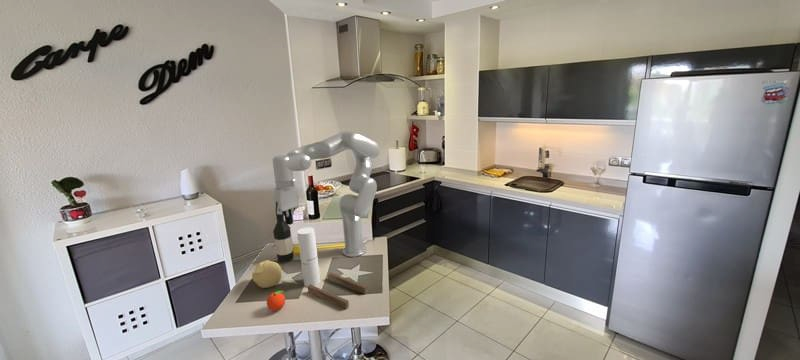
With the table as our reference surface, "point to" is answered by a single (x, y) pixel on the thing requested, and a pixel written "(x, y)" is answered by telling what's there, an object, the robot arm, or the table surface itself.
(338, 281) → the cradle rails
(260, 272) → the pale yellow lumpy blob
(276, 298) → the clementine
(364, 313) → the table surface
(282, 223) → the wine bottle
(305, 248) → the cylindrical container
